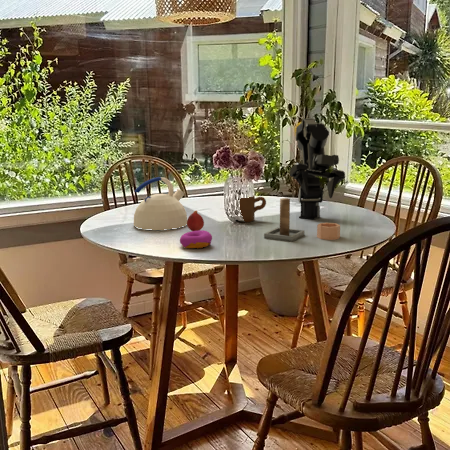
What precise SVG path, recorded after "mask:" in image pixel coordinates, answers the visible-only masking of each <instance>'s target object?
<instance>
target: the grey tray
mask: <svg viewBox="0 0 450 450" xmlns="http://www.w3.org/2000/svg"><path fill="white" fill-rule="evenodd" d="M304 236H305V230H303V229H294V228H289V236H285V235H280V227H275V228H273V229H271V230H269V231H267V232H265V233H263V238H264V239H267V240H275V241H284V242H291V243H292V242H295V241H297V240H298V239H300V238H302V237H304Z"/></svg>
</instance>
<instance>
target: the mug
mask: <svg viewBox="0 0 450 450" xmlns="http://www.w3.org/2000/svg"><path fill="white" fill-rule="evenodd" d="M257 202H261V203H260V204H259V205H255V204H256V203H257ZM266 205H267V200H266V198H265V197H263V196H257V197H255V195H253V197H249V198H241V199H240V210H241V213H242V214H241V215H242V216H243V219H244V221H245V222H244V223H252V222H253V221H255V219H256V218H255V213H256V212H257V211H260V210H263V209H264V208H265V207H266Z"/></svg>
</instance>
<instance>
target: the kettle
mask: <svg viewBox="0 0 450 450" xmlns="http://www.w3.org/2000/svg"><path fill="white" fill-rule="evenodd" d="M159 181H161V182H162V181H163V182H164V183H165V184H166V185H167V189H168V193H167V194H166V193H156V194H151V195H149V196H147V197H145V198H144V199H143V200H142V201H141V202H140V203H139V204H138V205H137V207H136V208H135V211H134V214H133V225H134V226H136V227H138V228H142V229H152V230H164V229H172V228H179V227H182V226H185V225H186V224H187V220H188V217H187V216H188V213H187V210H186V209H185V206H184V205H183V204H182V202H180V201H181V199H182V197H183V196H185V193H184V191H182V190H181V189H179V188H178V189H176V191H175V189H174V186H173V183H172V181H170V180H169V179H168V178H167V177H163V176H162V177H161V176H157V177H153V178H151V179H148V180H146V181H144V182H143V183H141V184H140V185H138V186H137V187H136V188H135V190H134V191H133V192H135V193H140V192H141V191H142V190H143V189H144V188H145V187H147V186H149V185H150V184H153V183H155V182H159ZM174 191H175V192H174ZM134 226H133V227H134ZM185 227H186V226H185Z"/></svg>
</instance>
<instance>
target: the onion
mask: <svg viewBox="0 0 450 450" xmlns="http://www.w3.org/2000/svg"><path fill="white" fill-rule="evenodd" d="M204 225H205V221H204V218H203V216H202V215H201V214H200V213H198V210H194V211H193V212H192V213H190V215H189V216H188V217H187V228H188V229H189V230H190V232H192V231H199V230H202V229H203V228H204Z"/></svg>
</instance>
